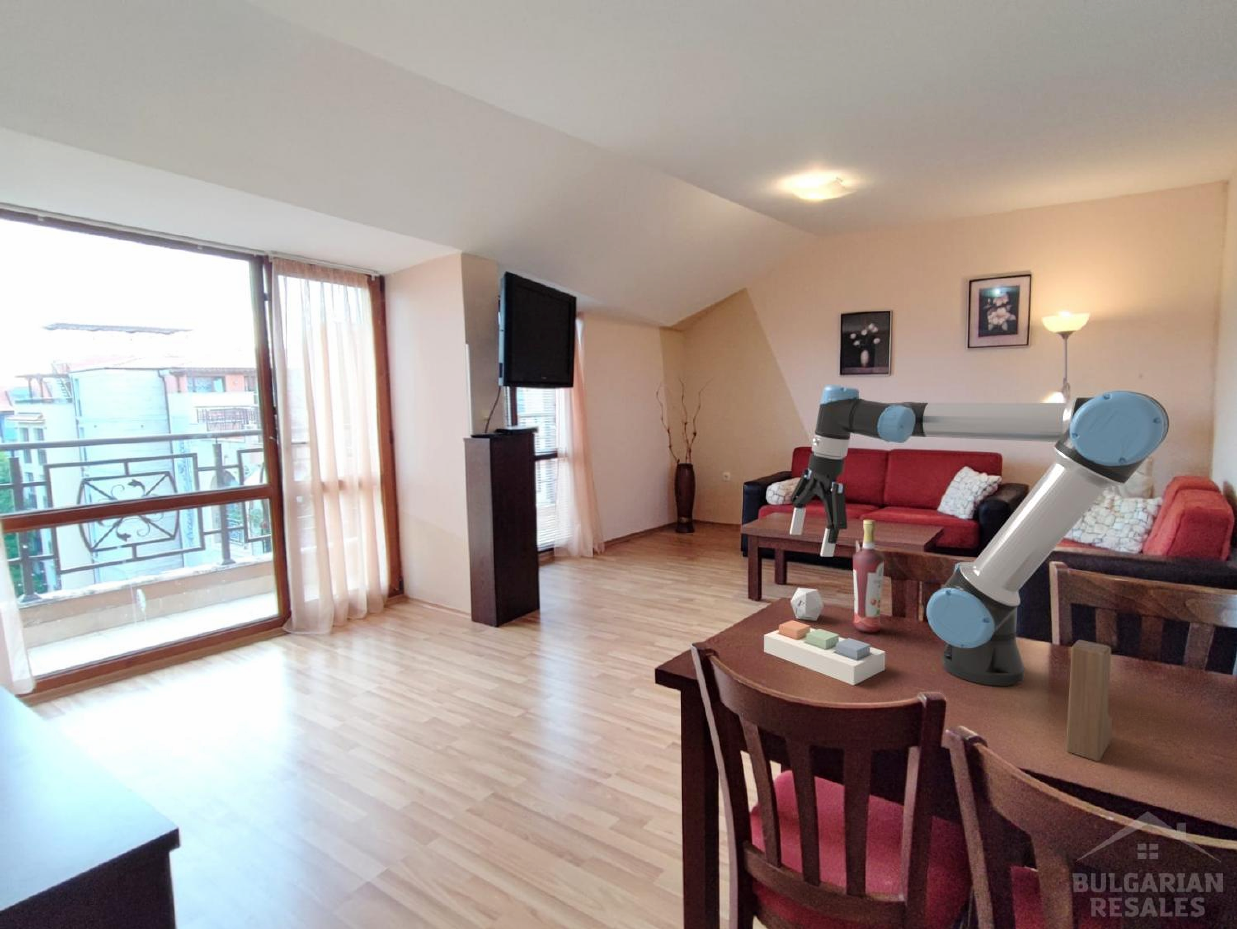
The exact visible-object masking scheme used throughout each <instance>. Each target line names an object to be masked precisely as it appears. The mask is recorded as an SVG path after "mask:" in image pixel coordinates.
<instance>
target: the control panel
mask: <svg viewBox="0 0 1237 929" xmlns="http://www.w3.org/2000/svg"><path fill="white" fill-rule="evenodd" d="M815 630H816V629H815V628H813V627H812V628H811V627H810V632H812V631H815ZM845 639H846V638H843V637H840V636H839V642H841V641H843V640H845ZM763 652H764V653H767V654H769V655H772V656H774V657H776V658H780V659H783V660H785V661H788V662H790V663H793V664H796V665H799V666H800V667H803V668H806V669H809V670H811V671H814V672H817V673H821V674H823V675H825V676H827V677H831V678H832V679H833V678H834V679H835V680H838V681H841V682H843V683H847V684H849V685H851V686H856V685H857V684H859V683H861V682H863V681H865V680H867V679H869V678H871V677H873V676H874V675H877V674H879V673H881V672H882V671H885V669H886V650H885V651H884V650H881V649H878V648H875V647H872V646H870V656H867V657H865V658H863V659H861V660H859V661H856V660H853V659H850V658H847V657H844V656H841V655H838V654H836V646H835V647H833V648H831V649H828V650H824V649H821V648H818V647H815V646H812V645H809V644H806V637H805V638H802V639H800V640H794V639H791V638H789V637H786V636H783V635H780V634H779V629H777V630H773V631H772V632H768V633H766V634H763Z"/></svg>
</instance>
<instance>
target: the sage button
mask: <svg viewBox="0 0 1237 929" xmlns="http://www.w3.org/2000/svg"><path fill="white" fill-rule="evenodd" d="M839 637H840V635H839V634H838V633H835V632H831V631H828V630H824V629H822V628H818V629H815V631H812V632H810V633H807V634H806V644H809V645H812V646H815V647H818V648H821V649H824V650H828V649H831V648H833V647H835V646H836V643H838V642H839Z"/></svg>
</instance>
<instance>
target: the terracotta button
mask: <svg viewBox="0 0 1237 929" xmlns="http://www.w3.org/2000/svg"><path fill="white" fill-rule="evenodd" d="M810 628H811V625H808V624H805V623H803V622H800V621H796V620H792V619H791V620H789V621H786V622H784V623H781V624H779V625H778V630H779V634H780V635H783V636H786V637H789V638H791V639H794V640H800V639H802V638H805V637H806V634H807V633H810Z"/></svg>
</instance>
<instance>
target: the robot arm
mask: <svg viewBox="0 0 1237 929" xmlns="http://www.w3.org/2000/svg"><path fill="white" fill-rule="evenodd" d="M815 425H816V426H815V430H814V436H813V440H812V445H811V446H812V447H811V451H812V452H811V453H810V454H809V460H808V464H807V468H803V469H802V472H801V473H802V474H801V477H800V478H799V480H798V482H797V484H796V486H795V488H794V490H793V492H792V493H791V495H790V498H789V502H790V503H792V506H793V512H792V519H791V525H790V529H789V535H793V536H796V535H797V536H802V534H803V533H802V532H803V527H804V523H805V522H804V521H805V517H806V512H807V511H806V510H807V508H806V507H807V504H808V503H809V502H810V501H811V499H812V498H813V497H815V495H817V497H819V498H820V500H821V501H822V503H823V506H824V511H825V516H826V521H827V524H828V525H826V526H825V530H824V535H823V540H822V544H821V549H820V554H819V555H820V557H827V558H828V557H834V554H835V553H834V552H835V547H836V544H837V541H838V537H839V533H840V530H847V529H848V518H847V507H846V506H847V505H846V496H845V494H846V489H847V488H846V487H847V485H846V483H839V482H838V477H839V476H841V475H842V474H843V473H844V468H845V463H846V460H845V458H846V456H847V454H848V450H849V444H850V439H851V435H852V434H855V435H860V436H865V437H869V438H873V439H877V440H881V441H882V440H883V441H885V442H887V443H890V442H891V443H897V444H898V443H899V444H903V443H905V442H907V441H908V440H909V438H911V437H916V438H918V437H919V438H946V439H947V438H948V439H969V440H971V439H973V440H995V441H1016V442H1017V441H1021V442H1037V443H1038V442H1039V443H1040V442H1041V443H1043V442H1044V443H1055V445H1053V447H1052V448H1053V451H1054V455H1055V460H1054V462H1053V463H1051V465H1050V466H1049V468H1048V469H1047V470H1046V472H1045V473H1043V475H1042V477H1041V478H1040V479H1039V480H1038V482H1037V483H1036V484H1035V485H1034V486H1033V487H1032V489H1031V490H1030V491H1029V493H1028V494H1027V495H1026V497H1025V498H1024V499H1023V500H1022V502H1021V503H1020V504H1019V505H1018V507H1017V508H1015V510H1014V512H1012V514H1011V515H1010V516H1009V518H1008V519H1007V520H1006V522H1005V523H1004V524H1003V525H1002V526H1001V528H1000V529H999V530H998V532H997V533H996V534H995V535H994V536H993V537H992V539H991V540H990V542H988V544H987V546H986V547H985V548H984V549H983V550H982V551H981V552H980V554H979V555H978V557H976V559H975V560H974V561H971V562H968V561H960V562H957V563H956V564H955V566H954V570H953V574H952V575H951V576H950V578H948V580H947V581H946V582H945V584H944V585H943V586H942V587H941V588H940V589H938V590H937V591H935V592H934V593H933V594H932V595H931V596H930V599H929V601H927V602H928V603H927V606H926V618H927V620H928V624H929V627H930V628H931V630H932V631H933V632H934V633H935V634H936V636H937V637H938V638H940V639H941V640H942V641H944V642H945V643H947V644H946V646H945V648H944V650H943V653H942V660H941V663H942V667H943V669H944V670H945V671H947V672H948V673H949V674H951V675H953V676H956V677H958V678H959V679H963V680H965V681H969V682H972V683H977V684H980V685H981V684H982V685H989V686H999V687H1000V686H1001V687H1003V686H1004V687H1005V686H1006V687H1007V686H1008V687H1009V686H1014V684H1015V685H1017V683H1018V684H1020V683H1022V682H1024V680H1023V679H1025V665H1024V662H1023V658H1022V656H1021V653H1020V651H1019V650H1020V649H1019V647H1018V644H1017V639H1016V637H1017V635H1016V634H1017V619H1018V618H1017V616H1018V606H1019V605H1020V604H1021V598H1020V594H1019V590H1020V589H1021V588H1022V587H1023V586H1024V585H1025V584H1026V582H1027V581H1028V580H1029V579H1030V578H1031V577H1032V575H1034V573H1035V572H1036V571H1037V569H1038V568H1039V567H1040V566H1041V565H1042V564H1043V563H1044V561H1045V560H1046V559H1047V558H1048V557H1049V556H1050V555H1051V553H1052V552H1053V551H1054V550H1055V549H1056V548H1057V547H1058V545H1059V544H1060V543H1061V542H1062V541H1063V539H1064V538H1065V537H1066V536H1067V535H1068V533H1070V531H1071V530H1072V529H1073V528H1074V527H1075V525H1076V524H1077V523H1078V522H1079V521H1080V520H1081V519H1082V517H1083V516H1084V515H1085V514H1086V513H1087V512H1088V510H1089V509H1090V508H1091V507H1092V506H1093V504H1094V503H1095V502H1096V501H1097V500H1098V499H1099V498H1100V496H1101V495H1102V494H1103V493H1104V492H1105V491H1106V489H1107V488H1111V487H1117V486H1123V485H1125V483H1126V482H1127V481H1128V480H1129V479H1130V478H1131V477H1132V476H1133V474H1134V473H1136V471H1137V470H1139V468H1140V466H1142V464H1143V463H1144V462H1145V461H1146V460H1147V459H1148V458H1149V457H1150V455H1152V454H1154V453H1153V452H1155V451H1156V450H1157V449H1158V448H1159V447H1160V446H1161V444H1162V443H1163V442H1164V440H1165V439H1166V437H1167V435H1168V433H1169V428H1170V418H1169V416H1168V413H1167V411H1166V409H1165V407H1164V406H1163V404H1162V403H1160V401H1158V400H1156V399H1155V398H1153V397H1151V396H1150V395H1147V394H1145V393H1140V392H1136V391H1130V390H1112V391H1108V392H1104V393H1101V394H1097V395H1096V396H1094V397H1093V396H1091V397H1075V398H1074V399H1072V400H1070V402H915V401H902V402H880V401H874V400H866V399H863V398H860V390H859V389H858V388H855V387H851V386H844V385H840V384H839V385H837V384H828V385H826V386H825V387H824V388H823V391H822V395H821V398H820V403H819V408H818V413H817V420H816V424H815ZM1019 682H1020V683H1019Z"/></svg>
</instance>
